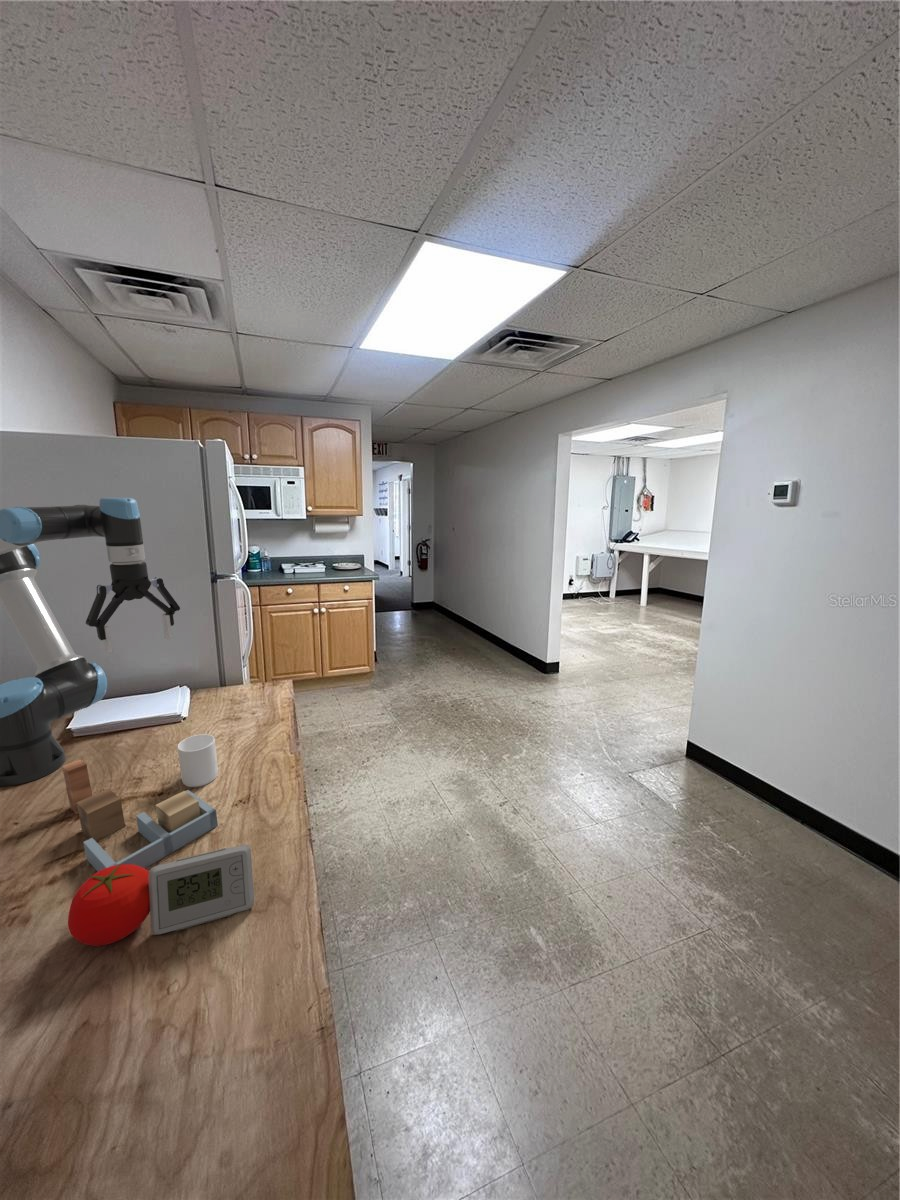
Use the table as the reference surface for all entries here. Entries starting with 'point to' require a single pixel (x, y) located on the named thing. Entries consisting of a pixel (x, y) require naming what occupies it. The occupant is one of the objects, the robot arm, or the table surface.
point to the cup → (198, 760)
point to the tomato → (110, 905)
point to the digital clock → (200, 889)
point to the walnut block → (92, 803)
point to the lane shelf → (155, 839)
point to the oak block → (177, 811)
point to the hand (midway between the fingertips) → (140, 644)
